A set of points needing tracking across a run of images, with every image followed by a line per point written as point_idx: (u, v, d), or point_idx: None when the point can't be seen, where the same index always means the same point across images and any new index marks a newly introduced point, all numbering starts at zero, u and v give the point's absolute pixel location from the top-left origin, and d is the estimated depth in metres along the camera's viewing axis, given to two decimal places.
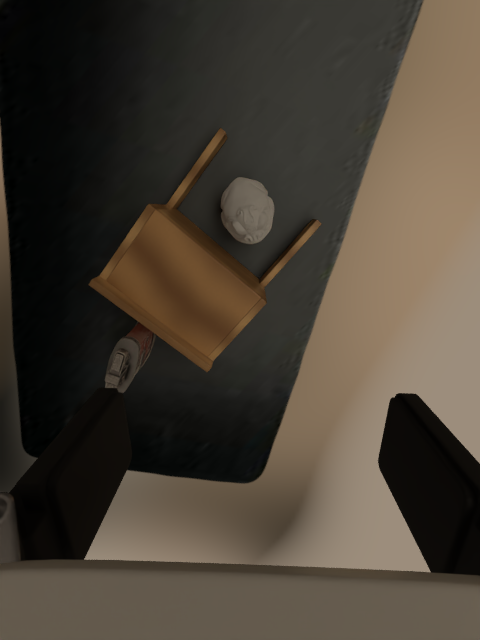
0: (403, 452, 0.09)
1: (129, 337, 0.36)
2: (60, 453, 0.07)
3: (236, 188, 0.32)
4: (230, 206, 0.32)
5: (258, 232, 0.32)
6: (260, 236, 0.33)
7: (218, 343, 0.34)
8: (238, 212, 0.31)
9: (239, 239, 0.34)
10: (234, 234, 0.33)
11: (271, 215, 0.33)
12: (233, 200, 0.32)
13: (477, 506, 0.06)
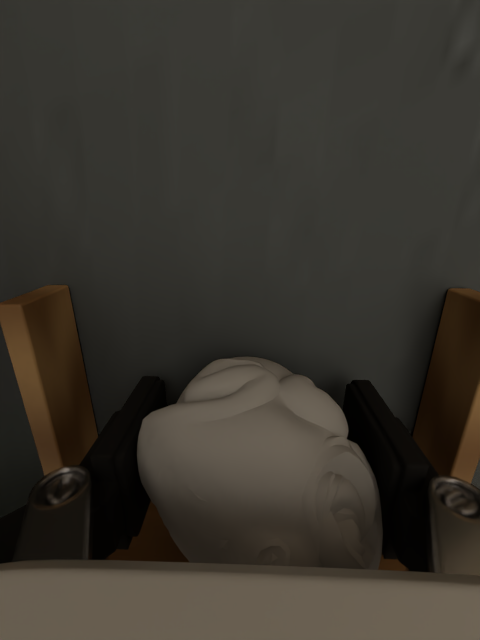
0: (354, 433, 0.10)
1: None
2: (122, 432, 0.08)
3: (159, 482, 0.07)
4: (187, 554, 0.07)
5: None
6: (369, 564, 0.07)
7: None
8: None
9: None
10: None
11: (351, 462, 0.07)
12: (180, 534, 0.07)
13: (401, 474, 0.07)
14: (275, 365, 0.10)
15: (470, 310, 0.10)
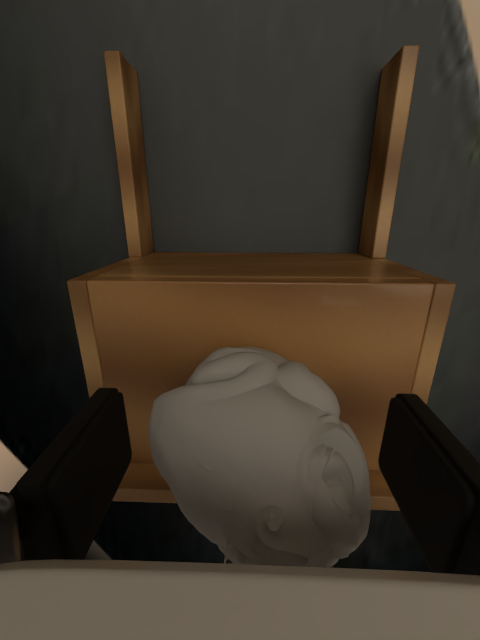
0: (403, 452, 0.09)
1: None
2: (60, 453, 0.07)
3: (169, 455, 0.08)
4: (194, 520, 0.08)
5: None
6: (358, 530, 0.08)
7: None
8: (232, 550, 0.07)
9: None
10: None
11: (342, 437, 0.08)
12: (188, 501, 0.08)
13: (477, 506, 0.06)
14: (274, 354, 0.10)
15: (391, 65, 0.15)
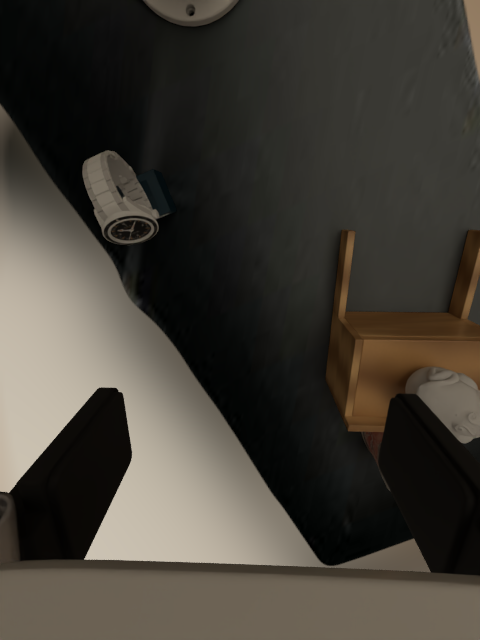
0: (403, 452, 0.09)
1: None
2: (60, 453, 0.07)
3: (431, 402, 0.26)
4: None
5: None
6: None
7: None
8: (457, 427, 0.25)
9: None
10: None
11: None
12: (437, 416, 0.26)
13: (477, 506, 0.06)
14: None
15: (475, 234, 0.34)
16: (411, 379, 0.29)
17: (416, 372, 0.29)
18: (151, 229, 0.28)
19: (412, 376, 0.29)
